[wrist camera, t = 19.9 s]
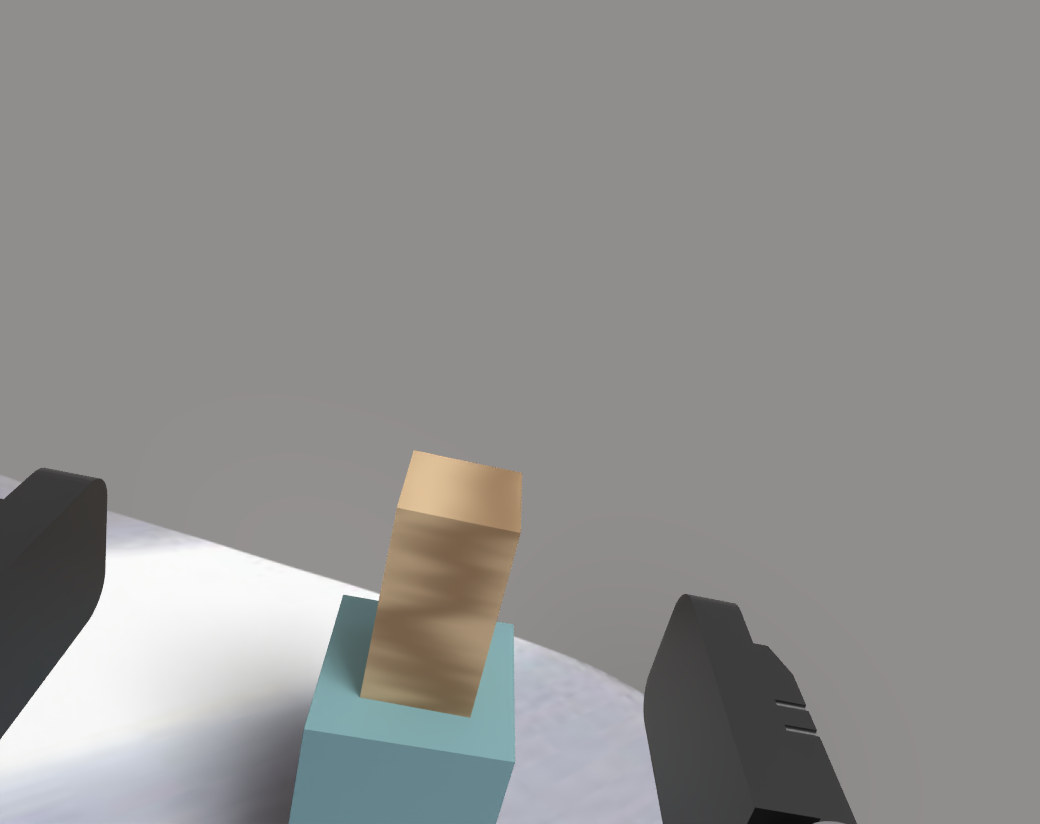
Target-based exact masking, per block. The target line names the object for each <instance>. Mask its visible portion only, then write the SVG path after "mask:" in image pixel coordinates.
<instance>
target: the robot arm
mask: <svg viewBox="0 0 1040 824" xmlns="http://www.w3.org/2000/svg"><path fill="white" fill-rule="evenodd" d="M106 523H107V488H106V484H105V482H104V481H103V480H102V479H98V478H94V477H89V476H83V475H78V474H73V473H68V472H63V471H58V470H53V469H47V468H40V469H38V470H37V471H35V472H34V473H33V474H32V475H30V476H29V477H28V478H27V479H26V480H25V481H24V482H23V483H21V484H20V485H19V486H18V487H17V488H16V489H15V490H14V491H12V492H11V493H10V494H9V495H8V496H7V497H6V498H5V499H0V739H1V738H2V736H3V735H4V734H5V732H6V731H7V730H8V728H9V727H10V726H11V724H12V723H13V721H14V720H15V719H16V717H17V716H18V715H19V713H20V712H21V711H22V709H23V708H24V707H25V705H26V704H27V703H28V701H29V700H30V699H31V697H32V696H33V695H34V693H35V692H36V691H37V689H38V688H39V687H40V685H41V684H42V682H43V681H44V680H45V678H46V677H47V676H48V674H49V673H50V672H51V670H52V669H53V668H54V666H55V665H56V664H57V662H58V661H59V660H60V658H61V657H62V656H63V654H64V653H65V652H66V650H67V649H68V648H69V646H70V645H71V643H72V642H73V641H74V639H75V638H76V637H77V635H78V634H79V633H80V631H81V630H82V629H83V627H84V626H85V625H86V623H87V622H88V620H89V619H90V617H91V616H92V614H93V612H94V610H95V608H96V606H97V603H98V601H99V598H100V595H101V592H102V588H103V584H104V578H105V560H106ZM805 706H806V704H805V702H804V699H803V697H802V695H801V693H800V690H799V688H798V686H797V683H796V681H795V679H794V676H793V674H792V673H791V672H790V671H789V670H788V669H787V668H786V666H785V665H784V664H783V663H782V662H781V661H780V660H779V658H778V657H777V656H776V655H775V654H774V653H773V652H772V650H771V649H770V648H769V647H768V646H765V645H759V644H754V643H753V642H752V639H751V637H750V634H749V631H748V629H747V626H746V624H745V621H744V618H743V616H742V613H741V611H740V609H739V607H738V606H737V605H736V604H735V603H729V602H724V601H719V600H714V599H709V598H703V597H698V596H693V595H688V594H684V595H682V596H681V597H680V598H679V600H678V601H677V603H676V605H675V608H674V610H673V613H672V615H671V618H670V621H669V624H668V626H667V629H666V631H665V634H664V636H663V639H662V642H661V644H660V647H659V649H658V652H657V655H656V657H655V660H654V663H653V665H652V668H651V670H650V673H649V676H648V679H647V684H646V688H645V695H644V722H645V728H646V733H647V739H648V744H649V750H650V755H651V761H652V766H653V772H654V777H655V783H656V788H657V794H658V799H659V805H660V810H661V816H662V821H663V824H857V823H856V821H855V818H854V816H853V814H852V811H851V809H850V807H849V804H848V802H847V800H846V797H845V795H844V793H843V790H842V788H841V786H840V783H839V781H838V779H837V777H836V774H835V772H834V770H833V767H832V765H831V762H830V760H829V758H828V755H827V753H826V751H825V748H824V746H823V744H822V741H821V739H820V737H818V736H816V731H817V730H816V727H815V725H814V723H813V721H812V718H811V716H810V714H809V712H808V711H806V710H805Z"/></svg>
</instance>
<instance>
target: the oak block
mask: <svg viewBox="0 0 1040 824" xmlns="http://www.w3.org/2000/svg"><path fill="white" fill-rule="evenodd" d="M521 495H522V473H519V472H515V471H510V470H505V469H500V468H496V467H490V466H486V465H481V464H477V463H471V462H467V461H462V460H457V459H453V458H447V457H443V456H439V455H434V454H429V453H424V452H419V451H414V452H413V455H412V458H411V462H410V465H409V469H408V472H407V475H406V479H405V482H404V486H403V489H402V492H401V496H400V499H399V502H398V506H397V510H396V515H395V520H394V526H393V531H392V536H391V541H390V546H389V551H388V556H387V561H386V567H385V572H384V577H383V582H382V587H381V592H380V597H379V602H378V607H377V612H376V618H375V623H374V628H373V633H372V638H371V643H370V648H369V653H368V658H367V664H366V669H365V674H364V679H363V684H362V689H361V694H360V697H361V698H366V699H371V700H377V701H382V702H388V703H393V704H398V705H404V706H409V707H414V708H420V709H425V710H431V711H436V712H441V713H447V714H452V715H458V716H463V717H468V718H470V717H471V714H472V710H473V706H474V703H475V699H476V695H477V692H478V688H479V684H480V681H481V677H482V673H483V670H484V666H485V662H486V659H487V655H488V651H489V648H490V644H491V640H492V636H493V633H494V629H495V625H496V622H497V618H498V614H499V610H500V607H501V603H502V599H503V596H504V592H505V588H506V585H507V581H508V578H509V574H510V570H511V567H512V563H513V559H514V556H515V552H516V548H517V544H518V541H519V537H520V533H521V499H522V496H521Z"/></svg>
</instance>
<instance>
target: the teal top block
mask: <svg viewBox="0 0 1040 824" xmlns="http://www.w3.org/2000/svg"><path fill="white" fill-rule="evenodd" d="M378 602H379V601H376V600H370V599H365V598H359V597H353V596H347V595H343V598H342V601H341V604H340V608H339V611H338V615H337V618H336V622H335V625H334V628H333V632H332V635H331V639H330V642H329V645H328V649H327V652H326V656H325V659H324V662H323V666H322V669H321V673H320V676H319V679H318V683H317V686H316V690H315V693H314V697H313V700H312V703H311V707H310V710H309V714H308V717H307V720H306V724H305V727H304V732H303V738H302V744H301V750H300V757H299V763H298V769H297V775H296V781H295V787H294V793H293V800H292V806H291V812H290V818H289V824H496V821H497V818H498V815H499V812H500V809H501V805H502V802H503V799H504V796H505V793H506V789H507V786H508V783H509V780H510V777H511V773H512V770H513V767H514V764H515V717H514V628H513V626H514V625H513V624H507V623H501V622H496V625H495V629H494V633H493V636H492V640H491V644H490V648H489V651H488V655H487V659H486V662H485V666H484V670H483V673H482V677H481V681H480V684H479V688H478V692H477V695H476V699H475V703H474V706H473V710H472V714H471V717H470V718H468V717H463V716H458V715H452V714H447V713H441V712H436V711H431V710H425V709H420V708H414V707H409V706H404V705H398V704H393V703H388V702H382V701H377V700H371V699H366V698H361V697H360V694H361V689H362V684H363V679H364V674H365V669H366V664H367V658H368V653H369V648H370V643H371V638H372V633H373V628H374V623H375V618H376V612H377V607H378Z"/></svg>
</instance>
